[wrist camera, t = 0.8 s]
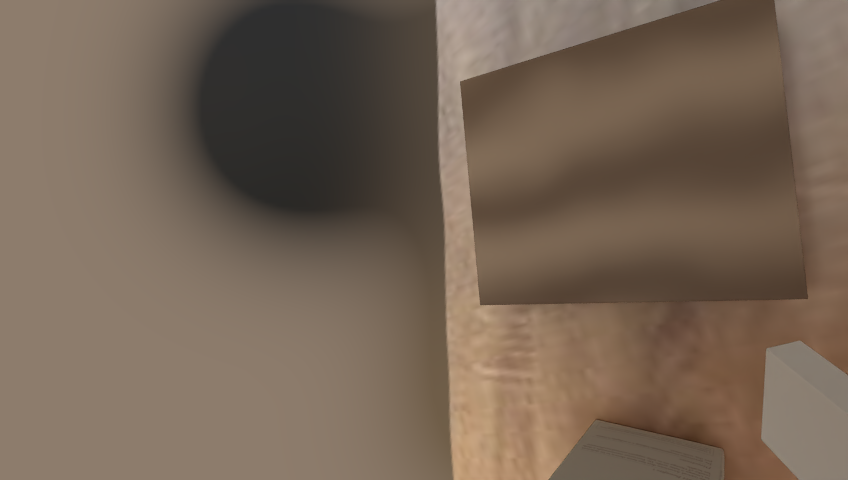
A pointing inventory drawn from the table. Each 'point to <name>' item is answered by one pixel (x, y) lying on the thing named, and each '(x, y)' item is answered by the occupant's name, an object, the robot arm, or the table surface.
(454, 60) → the table surface
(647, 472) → the supplement box
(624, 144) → the walnut stand
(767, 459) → the table surface
